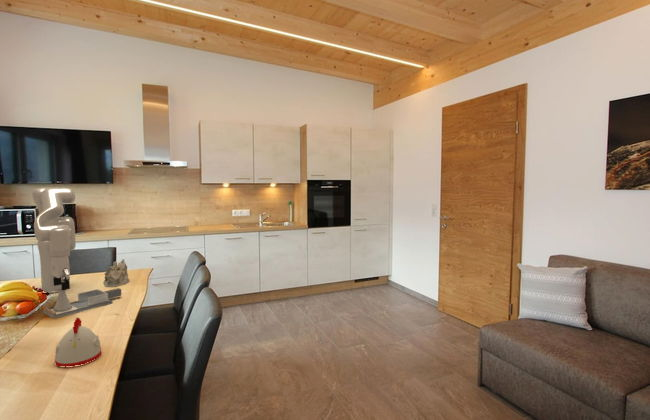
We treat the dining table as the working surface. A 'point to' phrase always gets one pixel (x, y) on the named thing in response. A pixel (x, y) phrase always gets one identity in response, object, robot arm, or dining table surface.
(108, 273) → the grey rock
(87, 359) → the kitchen timer
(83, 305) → the base board
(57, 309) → the flask
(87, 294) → the housing
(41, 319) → the dining table surface
